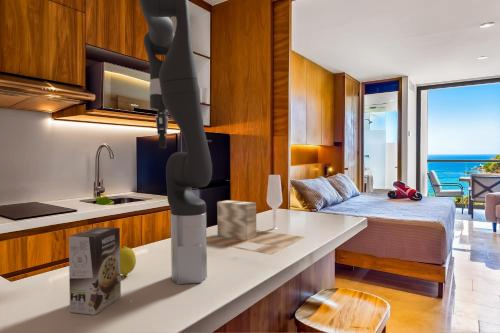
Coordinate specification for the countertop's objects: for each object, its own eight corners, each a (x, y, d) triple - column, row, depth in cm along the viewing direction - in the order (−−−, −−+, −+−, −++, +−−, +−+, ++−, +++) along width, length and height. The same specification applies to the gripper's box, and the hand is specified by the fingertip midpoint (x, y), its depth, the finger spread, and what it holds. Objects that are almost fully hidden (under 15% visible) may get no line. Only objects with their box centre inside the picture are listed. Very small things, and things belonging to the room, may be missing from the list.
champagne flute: (274, 234, 135) (274, 175, 134) (263, 231, 140) (263, 175, 139) (285, 232, 139) (285, 175, 139) (274, 229, 144) (274, 174, 144)
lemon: (123, 281, 86) (122, 250, 85) (109, 277, 88) (109, 247, 88) (140, 274, 90) (140, 245, 90) (127, 270, 93) (126, 242, 93)
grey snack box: (96, 315, 67) (94, 236, 66) (68, 312, 68) (66, 235, 68) (122, 296, 76) (121, 227, 75) (97, 294, 77) (96, 226, 77)
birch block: (256, 237, 125) (256, 202, 125) (247, 240, 120) (247, 204, 120) (227, 232, 133) (226, 200, 132) (217, 235, 128) (217, 202, 127)
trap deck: (306, 241, 124) (306, 237, 124) (271, 259, 103) (271, 254, 103) (237, 230, 142) (237, 227, 142) (195, 244, 121) (195, 240, 121)
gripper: (151, 98, 114) (152, 148, 114) (147, 90, 101) (148, 147, 101) (174, 98, 115) (174, 148, 116) (172, 91, 102) (173, 147, 103)
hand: (162, 147), depth 109 cm, fingers closed
